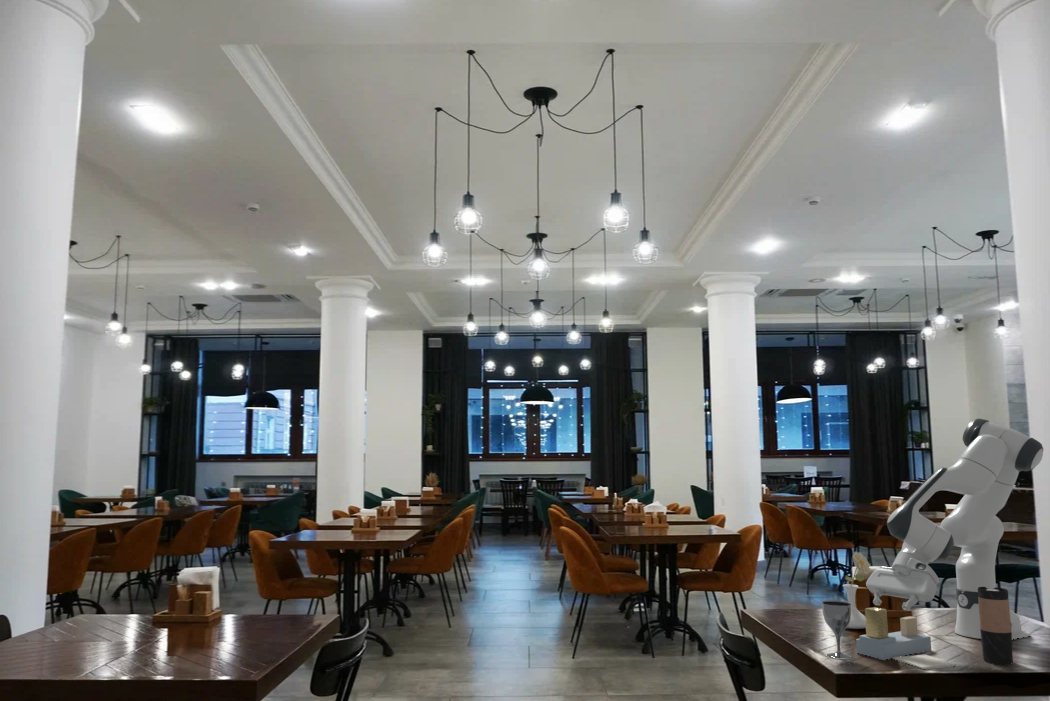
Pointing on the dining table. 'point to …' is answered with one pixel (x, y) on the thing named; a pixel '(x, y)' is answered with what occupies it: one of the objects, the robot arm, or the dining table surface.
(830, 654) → the wine glass
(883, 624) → the yellow rectangular block
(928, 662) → the felt mat
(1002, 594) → the travel mug
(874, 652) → the grey stepped base plate
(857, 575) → the flower in vase
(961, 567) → the robot arm
